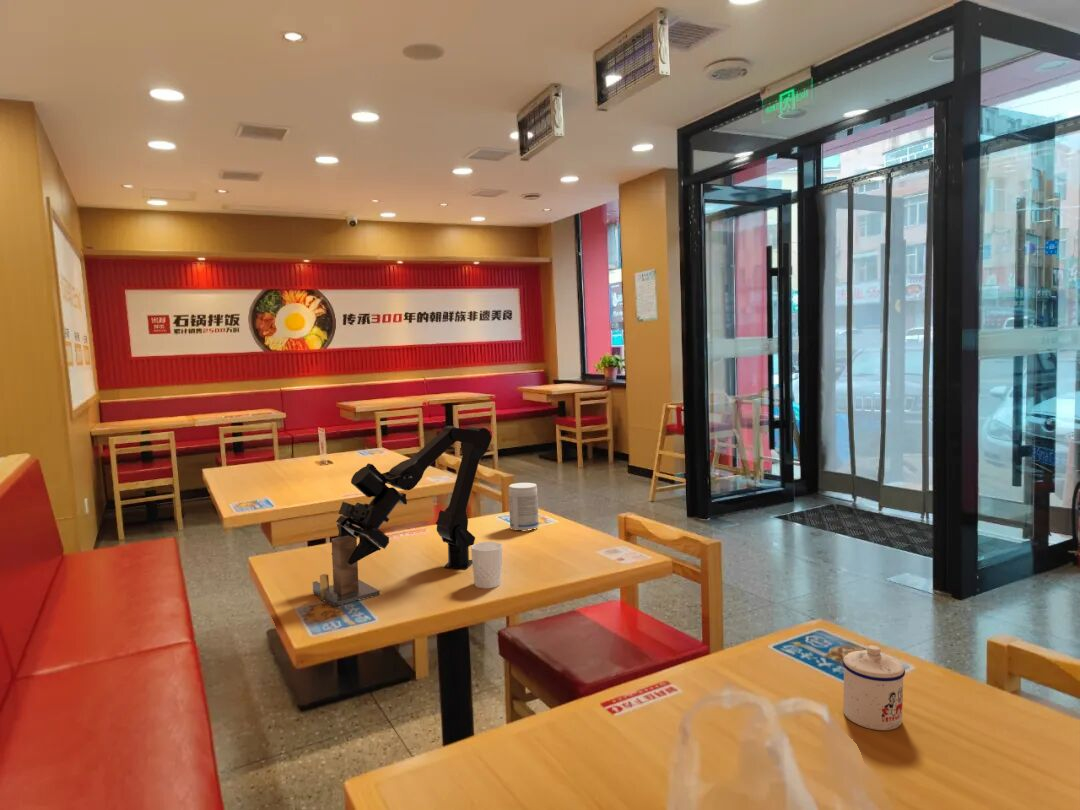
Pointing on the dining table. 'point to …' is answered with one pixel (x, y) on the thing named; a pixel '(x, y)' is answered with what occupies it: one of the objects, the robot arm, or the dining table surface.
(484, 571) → the white cup
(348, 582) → the walnut post
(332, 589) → the keeper plate
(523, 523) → the supplement tub
